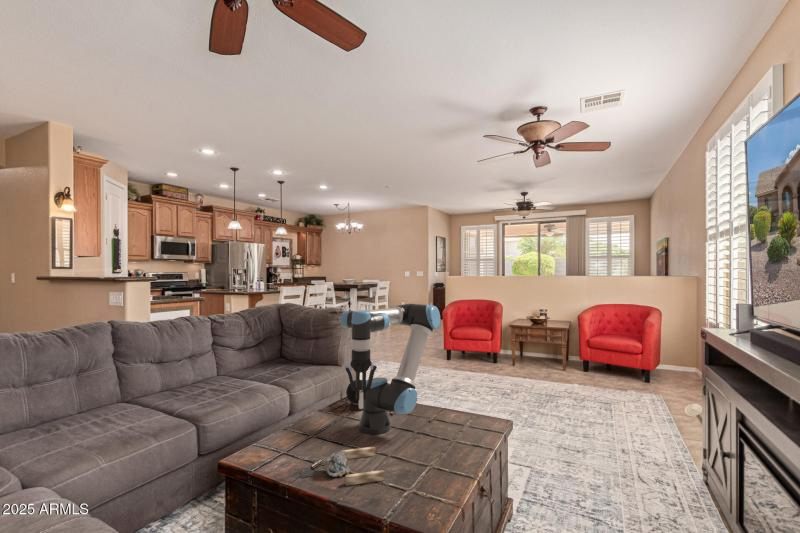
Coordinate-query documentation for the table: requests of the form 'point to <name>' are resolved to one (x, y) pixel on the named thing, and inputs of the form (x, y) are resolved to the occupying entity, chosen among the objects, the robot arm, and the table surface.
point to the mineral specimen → (336, 464)
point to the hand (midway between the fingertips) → (360, 407)
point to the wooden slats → (365, 476)
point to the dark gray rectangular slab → (307, 473)
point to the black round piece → (353, 397)
